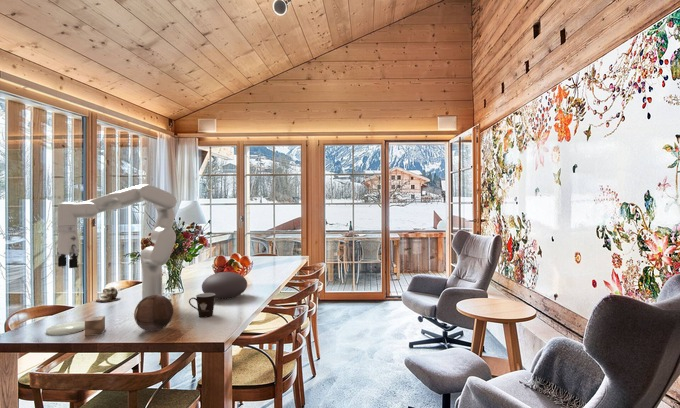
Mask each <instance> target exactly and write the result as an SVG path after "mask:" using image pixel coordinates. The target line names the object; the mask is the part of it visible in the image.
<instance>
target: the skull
mask: <svg viewBox="0 0 680 408" xmlns="http://www.w3.org/2000/svg"><path fill="white" fill-rule="evenodd" d="M118 291H119V290H118V289H117V288H116V287H115V286H112V285H111V286H110V285H109V286H106V287H104V288H103V289H102V292H101V293H100V298H98V299H95V301H96V302H101V303H103V302H112V301H113V302H115V301H119V300H121V297H118V293H119V292H118ZM117 297H118V298H117Z"/></svg>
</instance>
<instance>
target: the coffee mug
mask: <svg viewBox="0 0 680 408" xmlns="http://www.w3.org/2000/svg"><path fill="white" fill-rule="evenodd" d="M188 300H189V301H188V304H189V305H190V306H191V307H192V308H194V309H195V310H197V313H198V317H199V318H202V319H203V318H211V317H213V316H214V307H215V301H216V299H215V294H214V293H204V292H202V293H198V294H196V295H195V297H191V298H189V299H188ZM191 300H195V301H196V304H197V307H196V306H194V305H193V304H192V303H191Z"/></svg>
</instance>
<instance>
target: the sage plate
mask: <svg viewBox="0 0 680 408" xmlns="http://www.w3.org/2000/svg"><path fill="white" fill-rule="evenodd" d="M82 330H83V331H85V321H69V322H63V323H58V324H55V325H51V326H50V327H47V328H46V330H45V332H46V333H45V334H46V335H48V336H65V335H64V334H66V335H71V333H72V334H76V333H80V332H83V331H82ZM79 331H80V332H79Z"/></svg>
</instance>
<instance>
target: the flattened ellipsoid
mask: <svg viewBox="0 0 680 408" xmlns="http://www.w3.org/2000/svg"><path fill="white" fill-rule="evenodd" d="M247 287H248V281H247V279H246V278H245V277H244V276H243V275H241V274H240V273H237V272H232V271H222V272H221V271H220V272H215V273H213V274H211V275H208V276H207V277H206V278H205V279H204V280H203V281H202V284H201V290H202V293H214V294H215V300H229V299H233V298H237V297H238V296H241V295H242V294H243V293H244V292H245V291H247Z"/></svg>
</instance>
